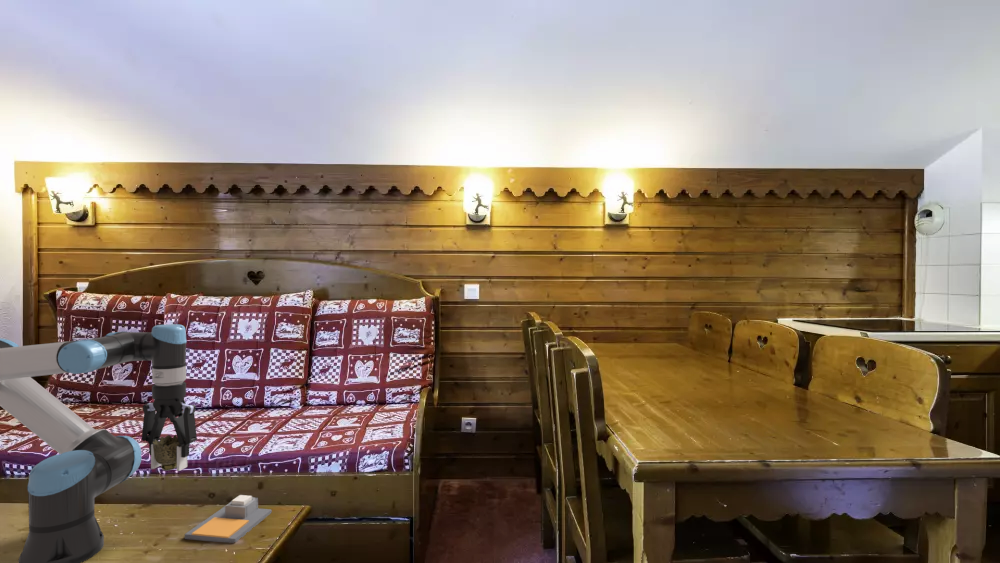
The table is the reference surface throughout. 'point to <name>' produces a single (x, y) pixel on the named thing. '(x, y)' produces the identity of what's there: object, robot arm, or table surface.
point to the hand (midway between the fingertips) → (169, 467)
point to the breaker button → (241, 500)
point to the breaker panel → (229, 523)
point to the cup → (166, 452)
